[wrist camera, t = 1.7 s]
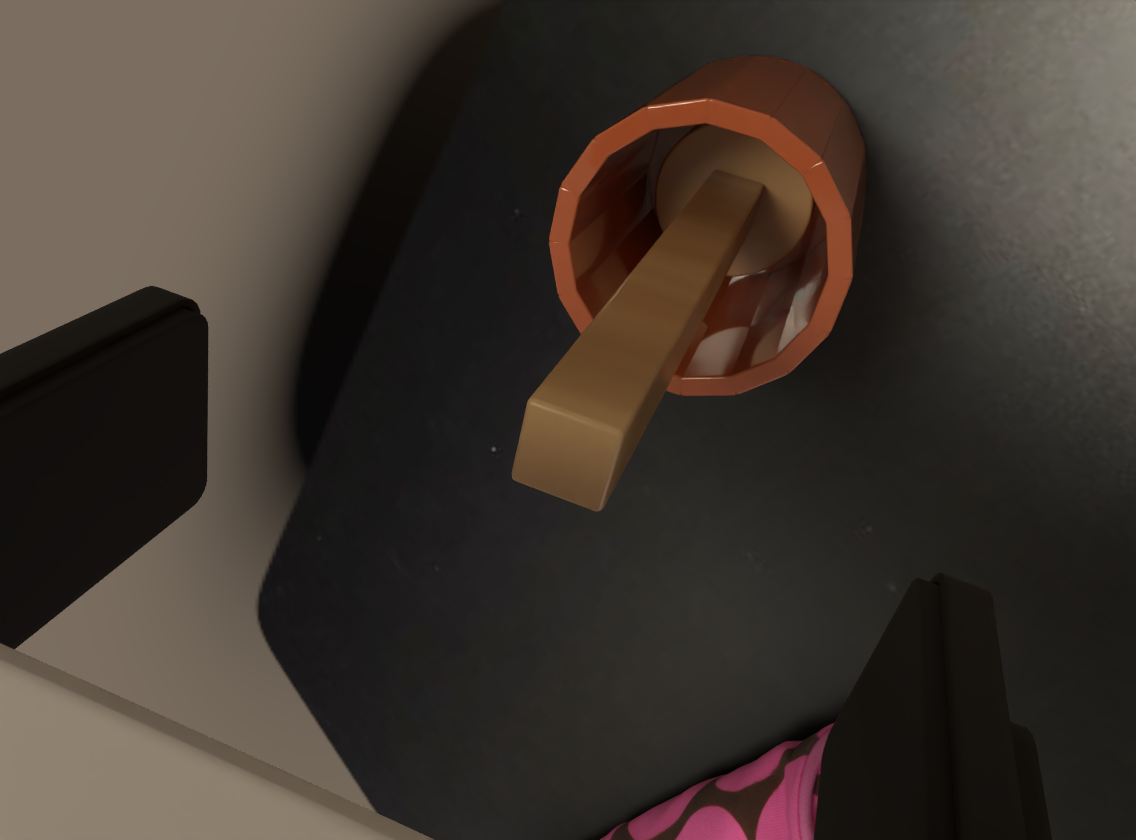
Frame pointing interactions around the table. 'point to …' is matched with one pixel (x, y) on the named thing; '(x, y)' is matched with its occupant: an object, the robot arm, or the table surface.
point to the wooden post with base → (659, 309)
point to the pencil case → (743, 801)
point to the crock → (743, 303)
